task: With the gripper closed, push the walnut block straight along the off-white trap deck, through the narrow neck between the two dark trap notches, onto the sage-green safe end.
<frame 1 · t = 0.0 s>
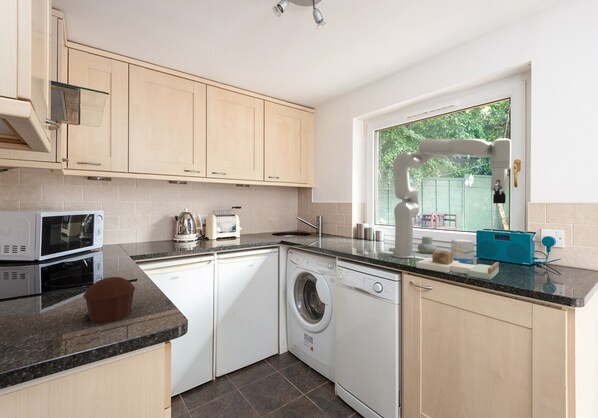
hand: (499, 203, 130), 31 cm above the counter, tool pointing down, fingers open, 9 cm apart
trap deck: (456, 269, 131), on the counter
ink box: (461, 262, 148), on the counter
muffin: (110, 316, 75), on the counter
walnut block: (442, 262, 135), point 2 cm above the counter, touching trap deck
air freshener: (426, 253, 175), on the counter
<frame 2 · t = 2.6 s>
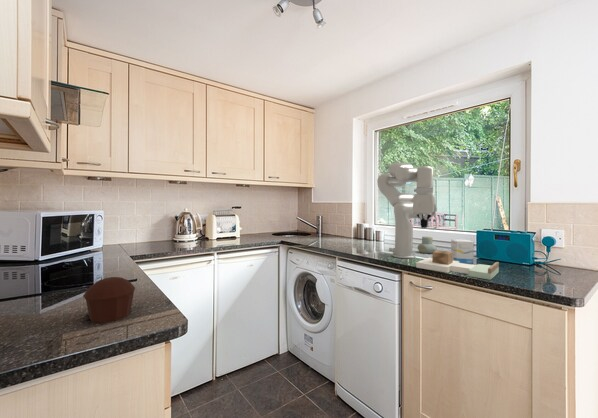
hand: (424, 227, 140), 19 cm above the counter, tool pointing down, fingers closed
nothing on the counter moved.
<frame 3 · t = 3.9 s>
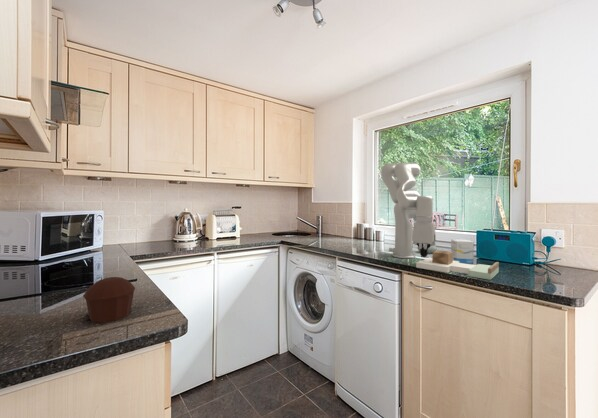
hand: (423, 256, 140), 4 cm above the counter, tool pointing down, fingers closed
nothing on the counter moved.
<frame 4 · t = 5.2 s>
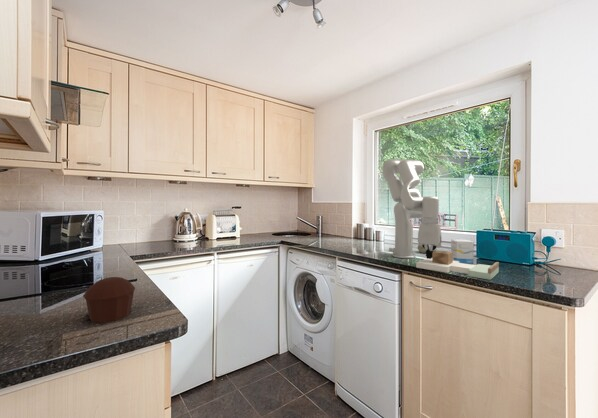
hand: (429, 258, 139), 4 cm above the counter, tool pointing down, fingers closed
walnut block: (442, 262, 135), point 3 cm above the counter, touching gripper
everything else where it was.
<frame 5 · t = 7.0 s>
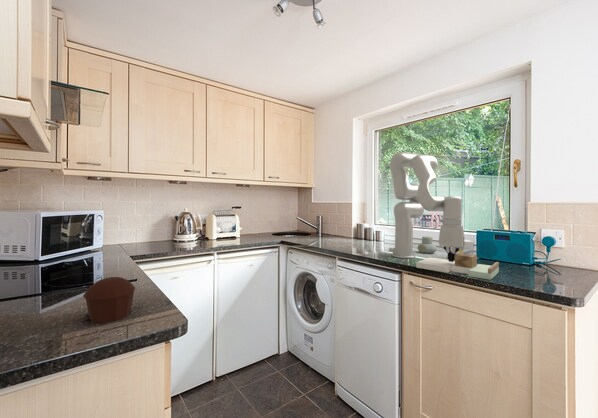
hand: (451, 261, 132), 4 cm above the counter, tool pointing down, fingers closed
walnut block: (465, 265, 128), point 3 cm above the counter, touching gripper
everything else where it was.
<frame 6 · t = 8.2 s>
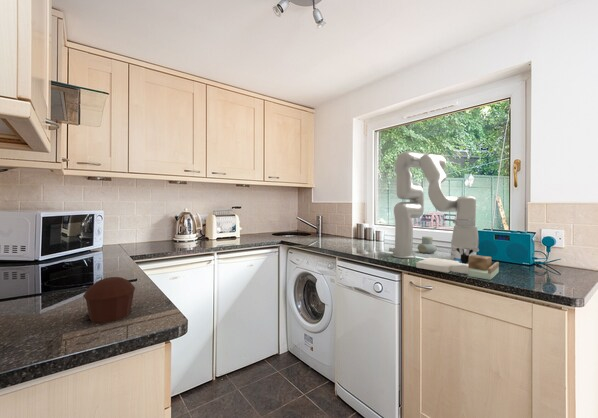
hand: (464, 263, 128), 4 cm above the counter, tool pointing down, fingers closed
walnut block: (479, 268, 124), point 2 cm above the counter, touching gripper, trap deck
everything else where it was.
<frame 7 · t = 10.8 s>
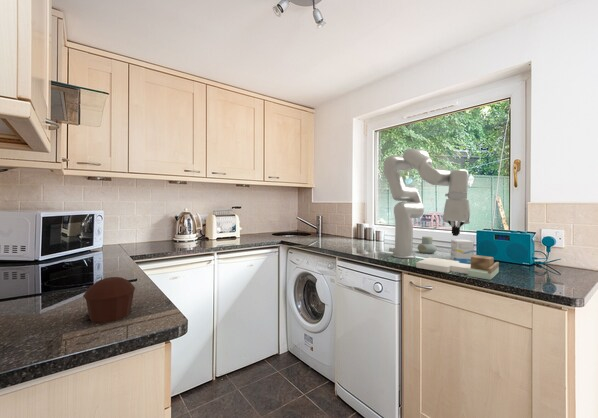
hand: (455, 235, 131), 16 cm above the counter, tool pointing down, fingers closed
walnut block: (482, 268, 123), point 2 cm above the counter, touching trap deck
everything else where it was.
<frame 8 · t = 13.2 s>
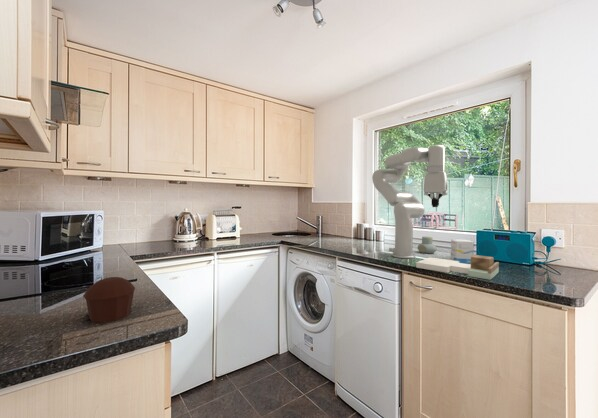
hand: (435, 207, 140), 29 cm above the counter, tool pointing down, fingers closed
nothing on the counter moved.
at the end: walnut block inside the target area on the trap deck (0.4 cm from its centre), point 2.5 cm above the trap deck's base; walnut block tilted 0°; walnut block touching trap deck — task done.
